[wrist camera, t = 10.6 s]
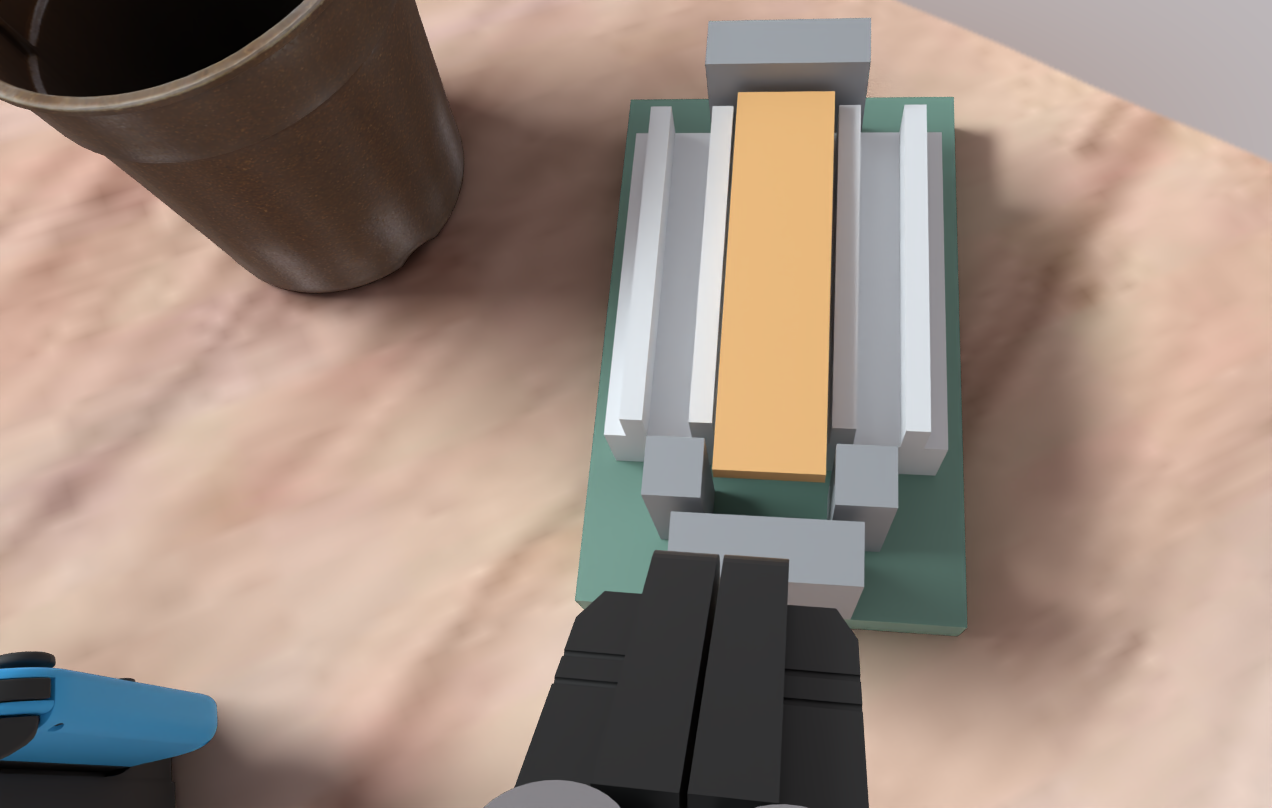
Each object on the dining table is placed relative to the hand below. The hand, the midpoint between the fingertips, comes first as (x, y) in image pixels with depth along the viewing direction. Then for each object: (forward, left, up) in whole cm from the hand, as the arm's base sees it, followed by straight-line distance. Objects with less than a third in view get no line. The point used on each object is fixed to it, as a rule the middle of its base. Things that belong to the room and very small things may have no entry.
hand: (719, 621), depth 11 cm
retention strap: (0, -15, -20) cm, 26 cm away
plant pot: (+21, -24, -27) cm, 42 cm away
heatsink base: (0, -16, -27) cm, 31 cm away
